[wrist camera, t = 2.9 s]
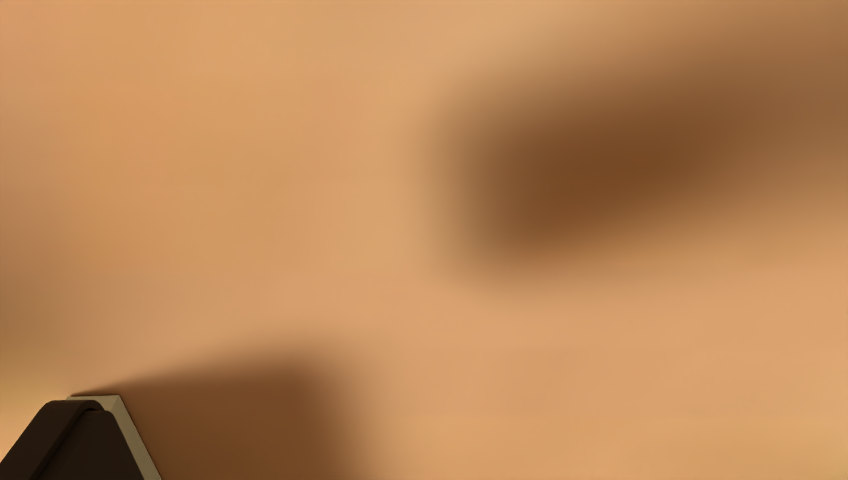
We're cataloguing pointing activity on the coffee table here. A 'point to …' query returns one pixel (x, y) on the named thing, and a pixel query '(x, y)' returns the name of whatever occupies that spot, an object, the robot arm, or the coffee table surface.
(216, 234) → the coffee table surface
